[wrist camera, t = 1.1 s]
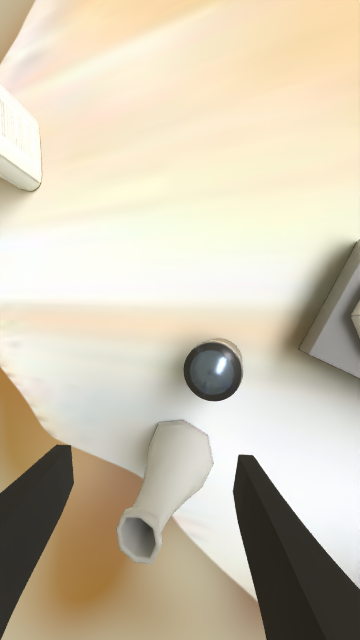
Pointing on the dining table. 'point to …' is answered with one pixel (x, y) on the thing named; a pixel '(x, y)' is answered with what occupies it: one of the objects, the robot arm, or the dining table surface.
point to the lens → (214, 369)
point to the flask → (164, 487)
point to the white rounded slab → (19, 144)
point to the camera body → (339, 321)
